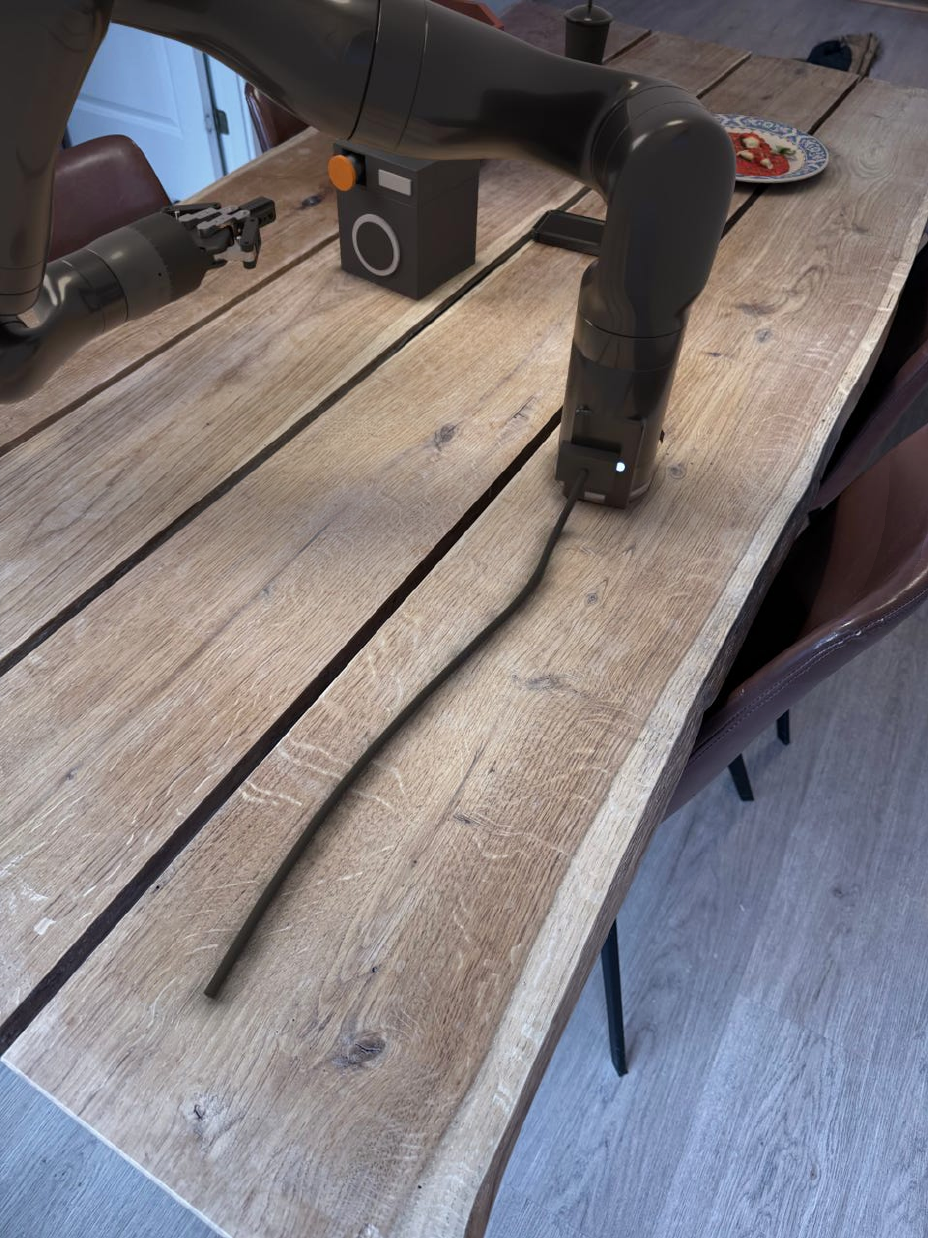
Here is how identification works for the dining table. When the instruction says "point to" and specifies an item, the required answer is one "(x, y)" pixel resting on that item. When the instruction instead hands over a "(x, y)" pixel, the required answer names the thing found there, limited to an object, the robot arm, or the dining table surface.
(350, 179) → the power button
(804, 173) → the ceramic plate
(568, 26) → the drinking cup
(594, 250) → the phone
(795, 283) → the dining table surface
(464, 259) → the washer
